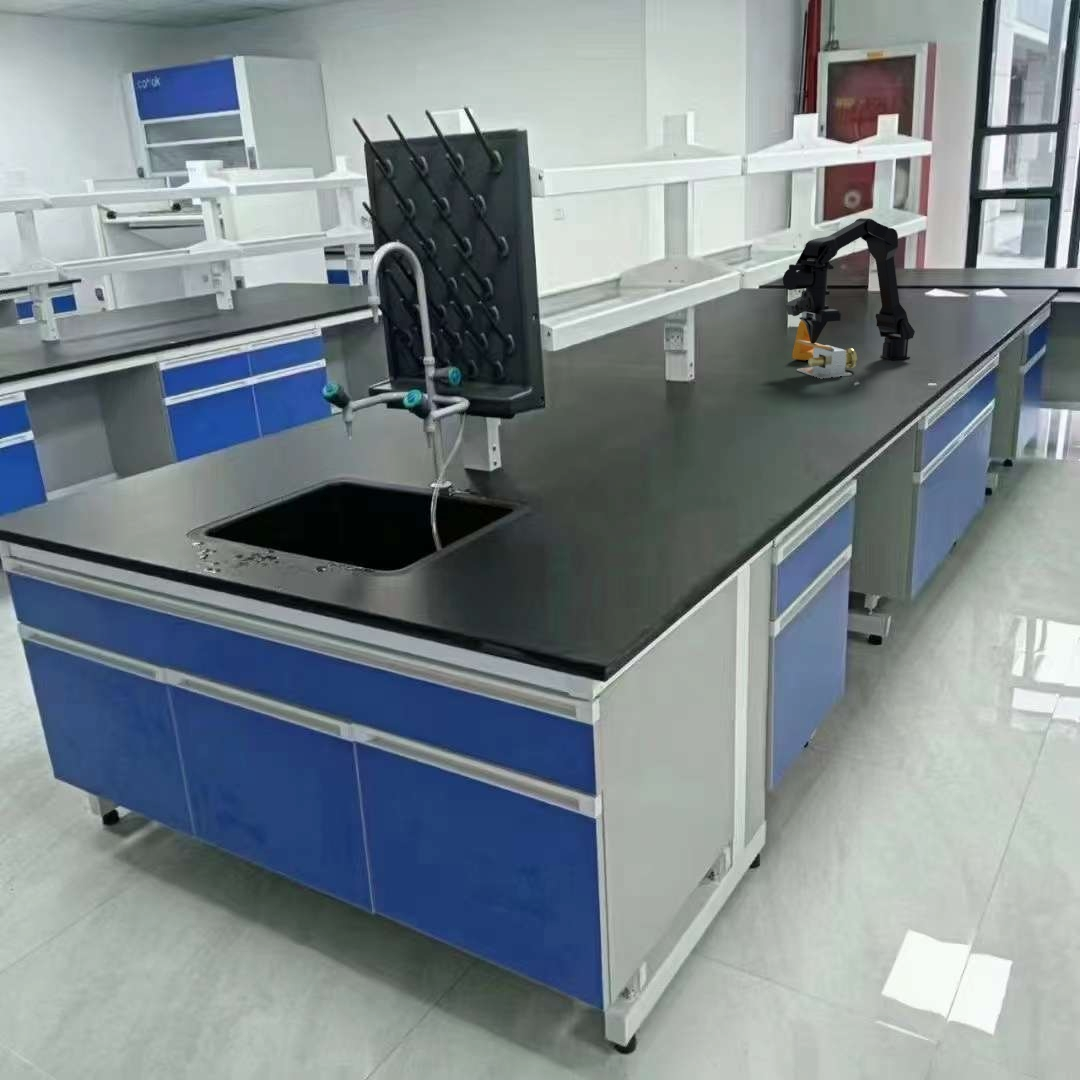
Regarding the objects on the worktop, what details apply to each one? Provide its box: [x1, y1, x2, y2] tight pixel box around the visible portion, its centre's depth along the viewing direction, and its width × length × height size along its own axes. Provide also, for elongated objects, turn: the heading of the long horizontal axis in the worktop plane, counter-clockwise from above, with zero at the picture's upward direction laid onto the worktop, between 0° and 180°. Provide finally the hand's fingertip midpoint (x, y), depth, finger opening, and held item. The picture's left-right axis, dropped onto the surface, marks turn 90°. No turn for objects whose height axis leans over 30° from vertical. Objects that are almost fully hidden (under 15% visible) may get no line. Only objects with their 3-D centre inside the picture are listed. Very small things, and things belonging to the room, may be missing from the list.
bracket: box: [792, 319, 814, 361], centre depth 318 cm, size 11×7×12 cm, turn 138°
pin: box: [807, 347, 858, 369], centre depth 299 cm, size 14×6×6 cm, turn 107°
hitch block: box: [796, 344, 853, 380], centre depth 299 cm, size 10×13×7 cm
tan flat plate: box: [795, 339, 834, 352], centre depth 296 cm, size 6×10×1 cm, turn 17°
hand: (812, 343), depth 296 cm, fingers closed, pressing on tan flat plate
